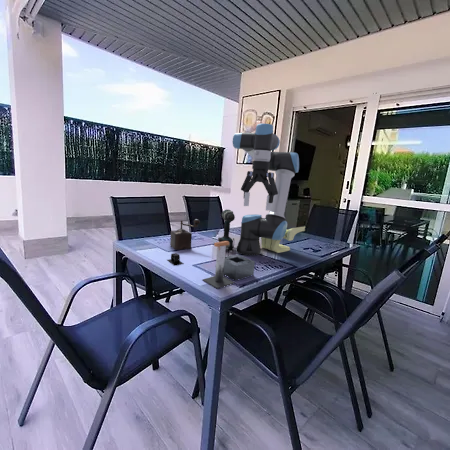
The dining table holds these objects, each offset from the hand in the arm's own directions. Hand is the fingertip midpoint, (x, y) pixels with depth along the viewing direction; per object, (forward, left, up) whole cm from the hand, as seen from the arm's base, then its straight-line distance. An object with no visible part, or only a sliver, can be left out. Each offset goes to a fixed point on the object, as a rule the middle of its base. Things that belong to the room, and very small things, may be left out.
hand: (256, 208), depth 120 cm
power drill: (-15, -34, -32) cm, 49 cm away
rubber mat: (+20, 0, -32) cm, 37 cm away
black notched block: (+23, -31, -32) cm, 51 cm away
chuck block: (+7, -3, -32) cm, 33 cm away
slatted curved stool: (-46, -21, -32) cm, 60 cm away
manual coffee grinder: (+4, -52, -32) cm, 61 cm away
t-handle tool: (+20, 0, -31) cm, 37 cm away
